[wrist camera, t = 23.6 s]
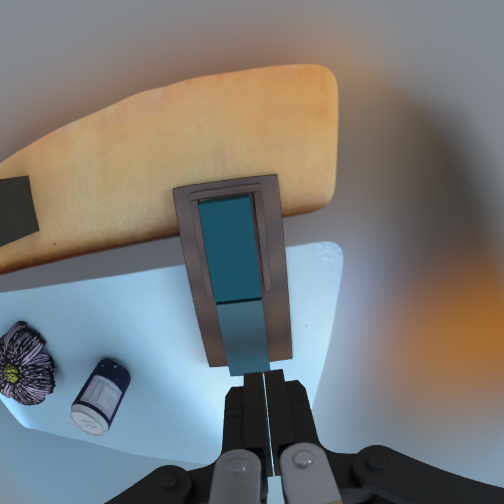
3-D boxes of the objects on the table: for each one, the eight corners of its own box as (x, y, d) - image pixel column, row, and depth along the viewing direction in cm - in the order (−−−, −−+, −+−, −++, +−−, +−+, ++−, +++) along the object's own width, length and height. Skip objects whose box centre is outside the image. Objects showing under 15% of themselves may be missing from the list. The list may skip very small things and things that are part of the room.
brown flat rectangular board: (175, 187, 29) (163, 190, 25) (276, 174, 29) (281, 174, 25) (210, 362, 35) (207, 383, 31) (291, 353, 35) (296, 374, 31)
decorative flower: (53, 408, 27) (4, 422, 24) (80, 383, 38) (32, 400, 35) (9, 317, 27) (-34, 344, 24) (45, 310, 38) (1, 335, 35)
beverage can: (94, 355, 35) (60, 406, 24) (124, 355, 35) (93, 412, 24) (108, 382, 37) (80, 434, 25) (137, 383, 37) (113, 441, 25)
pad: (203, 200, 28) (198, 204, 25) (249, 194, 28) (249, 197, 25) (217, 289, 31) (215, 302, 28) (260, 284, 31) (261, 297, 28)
